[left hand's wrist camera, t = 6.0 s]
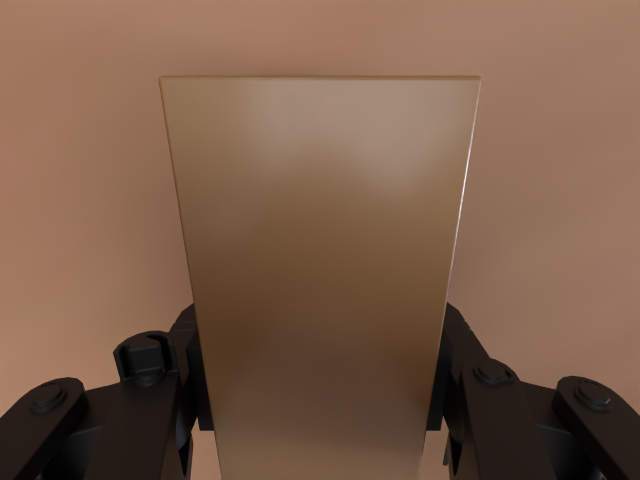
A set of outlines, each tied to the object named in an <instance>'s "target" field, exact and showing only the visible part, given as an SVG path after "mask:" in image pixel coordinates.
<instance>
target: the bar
mask: <svg viewBox="0 0 640 480" xmlns="http://www.w3.org/2000/svg"><path fill="white" fill-rule="evenodd" d="M481 82H482V80H481V77H479V76H162V77H160V78H159V86H160V92H161V98H162V105H163V111H164V117H165V124H166V130H167V136H168V143H169V149H170V155H171V162H172V168H173V174H174V181H175V187H176V193H177V199H178V206H179V212H180V218H181V225H182V231H183V237H184V244H185V250H186V256H187V263H188V269H189V275H190V282H191V288H192V294H193V301H194V307H195V313H196V320H197V326H198V332H199V338H200V345H201V351H202V357H203V364H204V370H205V376H206V383H207V389H208V395H209V402H210V408H211V414H212V421H213V427H214V433H215V440H216V446H217V452H218V459H219V465H220V471H221V477H222V480H418V479H419V473H420V466H421V460H422V454H423V447H424V441H425V435H426V429H427V422H428V416H429V410H430V403H431V397H432V391H433V384H434V378H435V372H436V366H437V359H438V353H439V347H440V340H441V334H442V328H443V321H444V315H445V309H446V302H447V296H448V290H449V284H450V277H451V271H452V265H453V258H454V252H455V246H456V239H457V233H458V227H459V221H460V214H461V208H462V202H463V195H464V189H465V183H466V176H467V170H468V164H469V158H470V151H471V145H472V139H473V132H474V126H475V120H476V113H477V107H478V101H479V94H480V88H481Z"/></svg>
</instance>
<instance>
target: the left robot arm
mask: <svg viewBox="0 0 640 480" xmlns="http://www.w3.org/2000/svg"><path fill="white" fill-rule="evenodd" d="M113 355H114V358H115V362H116V365H117V369H118V373H119V376H120V382H119V383H116V384H112V385H109V386H104V387H100V388H96V389H91V390H87V391H85V389H84V386H83V383H82V382H81V381H80V380H78V379H76V378H70V377H66V378H59V379H55V380H52V381H49V382H46V383H43V384H41V385H39V386H37V387H36V388H34V389H32V390H30V391H29V392H28V393H26V394H25V395H24V396H23V397H21V398H20V399H19V400H18V401H17V402H16V403H15V404H14V405H13V406H12V407H11V408H10V409H9V410H8V411H7V412H6V413H5V414H4V415H3V416H2V417H1V418H0V480H190V476H191V465H192V454H193V439H192V434H191V431H192V428H193V426H194V423H195V421H196V418H197V417H198V423H199V429H200V431H214V427H213V421H212V414H211V408H210V402H209V395H208V389H207V383H206V376H205V370H204V364H203V357H202V351H201V345H200V338H199V332H198V326H197V320H196V313H195V307H194V303H193V304H191V305H190V306H189V307H187V308H186V309H185V310H183V311H182V312H181V314H180V315H179V317H178V318H177V320H176V323H174V324H173V326H172V327H171V329H170V331H169V332H168V333H167V332H163V331H147V332H143V333H139V334H136V335H134V336H132V337H130V338H128V339H126V340H125V341H123V342H122V343H121V344H119V345H118V346H117V348H116V349H115V350H114V352H113ZM443 416H444V418H445V421H446V423H447V426H448V429H449V434H448V439H447V444H446V449H445V454H444V460H443V465H446V466H447V464H449V475H450V480H640V416H639V415H638V414H637V413H636V412H635V411H634V410H633V409H632V408H631V407H630V406H629V405H628V404H627V403H626V402H625V401H624V400H623V399H622V398H621V397H620V396H619V395H618V394H616V393H615V392H614V391H613V390H611V389H610V388H608V387H606V386H604V385H602V384H600V383H599V382H596V381H593V380H590V379H587V378H584V377H577V376H568V377H563V378H562V379H561V380H560V381H558V384H557V387H556V390H555V389H551V388H546V387H542V386H538V385H533V384H529V383H526V382H522V381H520V380H519V378H518V377H517V375H516V373H515V372H514V371H513V370H512V369H510V368H509V367H508V366H507V365H505V364H503V363H501V362H499V361H497V360H495V359H491V358H490V357H489V355H488V354H487V352H486V351H485V349H484V348H483V346H482V345H481V344H480V342H479V341H478V339H477V338H476V336H475V335H474V333H473V332H472V330H470V327H469V326H468V324H467V323H466V322H465V320H464V318H463V317H462V315H461V314H460V312H459V311H458V310H457V309H456V308H454V307H453V306H452V305H450V304H449V303H448V302H446V309H445V315H444V321H443V328H442V334H441V340H440V347H439V353H438V359H437V366H436V372H435V378H434V384H433V391H432V397H431V403H430V410H429V416H428V422H427V429H426V431H440V430H441V424H442V419H443ZM603 476H604V477H605V478H606V479H605V478H604V477H603ZM37 477H38V478H37ZM36 478H37V479H36Z"/></svg>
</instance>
